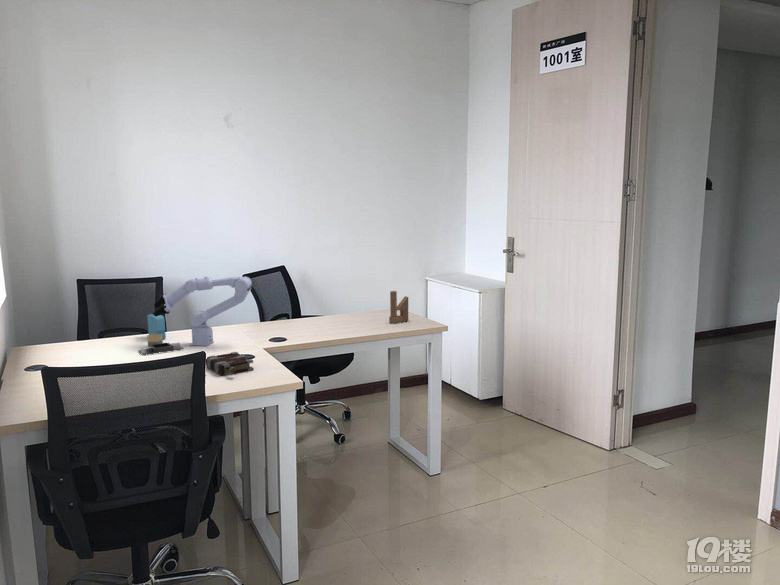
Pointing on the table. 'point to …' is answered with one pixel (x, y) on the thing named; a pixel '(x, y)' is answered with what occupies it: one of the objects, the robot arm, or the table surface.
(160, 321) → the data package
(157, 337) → the coupler
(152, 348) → the shaft rig
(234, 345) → the table surface
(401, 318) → the brown wooden bracket
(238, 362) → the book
